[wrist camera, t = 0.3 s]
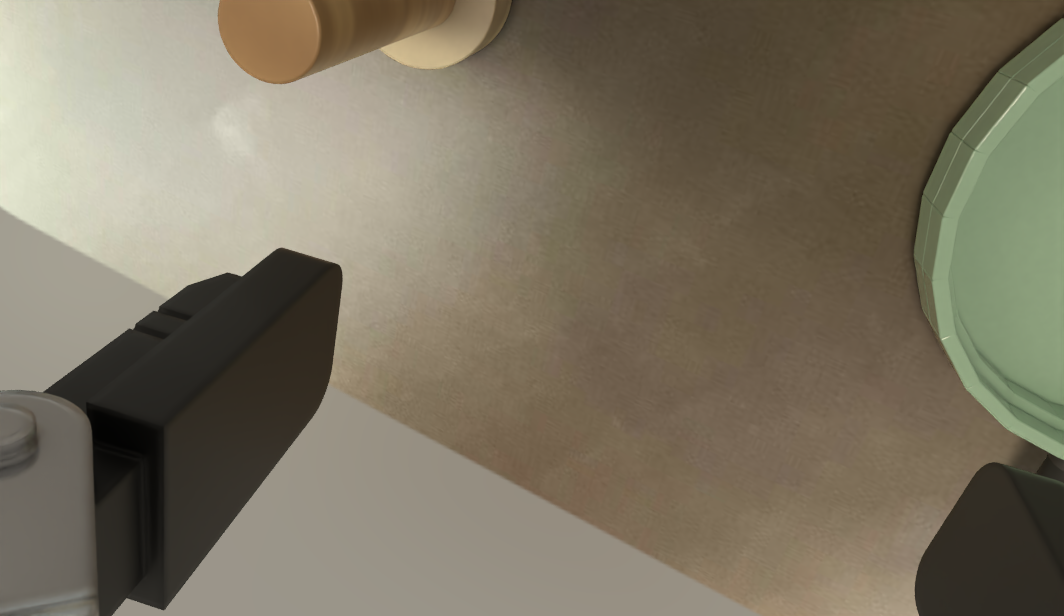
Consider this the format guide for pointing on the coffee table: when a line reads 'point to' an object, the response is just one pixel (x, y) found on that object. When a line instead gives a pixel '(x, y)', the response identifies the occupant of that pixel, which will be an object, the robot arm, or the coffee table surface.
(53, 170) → the coffee table surface
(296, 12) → the brush
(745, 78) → the coffee table surface
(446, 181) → the coffee table surface
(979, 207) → the pan
